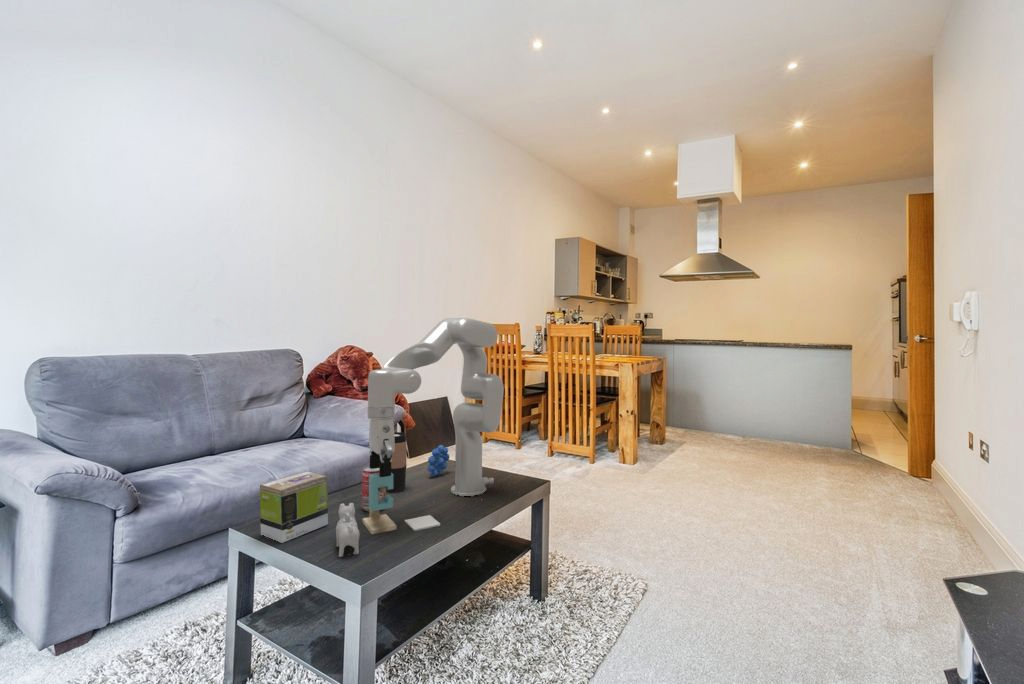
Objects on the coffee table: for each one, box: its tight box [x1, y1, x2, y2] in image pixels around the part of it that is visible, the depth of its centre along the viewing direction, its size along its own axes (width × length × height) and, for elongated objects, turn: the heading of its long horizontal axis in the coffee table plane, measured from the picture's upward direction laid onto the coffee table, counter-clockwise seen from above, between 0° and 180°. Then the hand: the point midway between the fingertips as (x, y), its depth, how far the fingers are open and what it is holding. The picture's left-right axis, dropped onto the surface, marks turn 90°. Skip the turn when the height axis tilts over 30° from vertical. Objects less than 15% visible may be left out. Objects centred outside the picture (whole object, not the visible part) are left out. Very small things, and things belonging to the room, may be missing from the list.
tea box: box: [259, 470, 329, 544], centre depth 137 cm, size 15×10×15 cm
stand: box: [362, 487, 397, 535], centre depth 141 cm, size 7×11×12 cm, turn 32°
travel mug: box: [386, 431, 407, 494], centre depth 174 cm, size 8×8×20 cm
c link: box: [369, 473, 394, 511], centre depth 140 cm, size 6×4×10 cm, turn 122°
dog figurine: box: [335, 502, 361, 558], centre depth 127 cm, size 5×13×11 cm, turn 26°
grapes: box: [427, 444, 450, 477], centre depth 192 cm, size 12×7×12 cm, turn 145°
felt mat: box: [404, 514, 441, 532], centre depth 144 cm, size 8×8×1 cm
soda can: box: [361, 465, 386, 513], centre depth 155 cm, size 7×7×13 cm
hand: (380, 472), depth 139 cm, fingers open, 9 cm apart
